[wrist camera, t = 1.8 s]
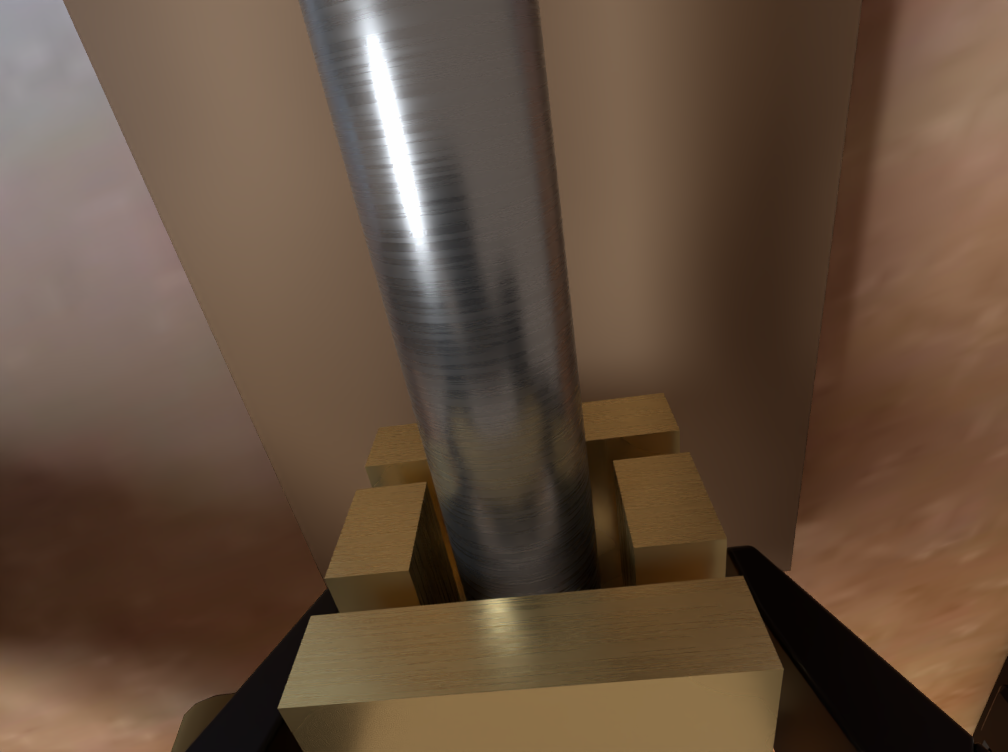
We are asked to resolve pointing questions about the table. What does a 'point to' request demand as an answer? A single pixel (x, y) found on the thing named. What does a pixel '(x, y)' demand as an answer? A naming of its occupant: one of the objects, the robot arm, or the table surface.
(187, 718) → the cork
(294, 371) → the jig
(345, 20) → the bolt
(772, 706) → the nut
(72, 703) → the table surface
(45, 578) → the table surface
